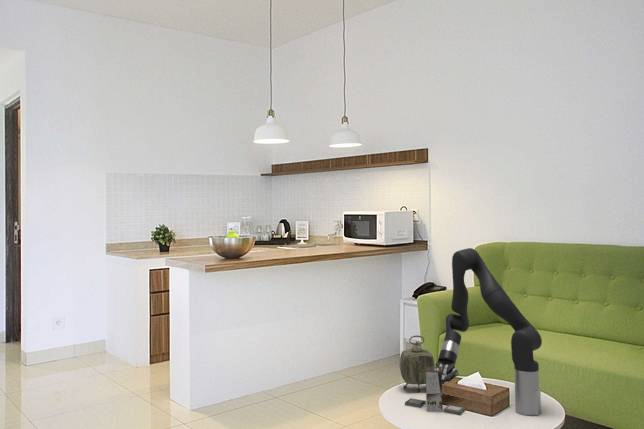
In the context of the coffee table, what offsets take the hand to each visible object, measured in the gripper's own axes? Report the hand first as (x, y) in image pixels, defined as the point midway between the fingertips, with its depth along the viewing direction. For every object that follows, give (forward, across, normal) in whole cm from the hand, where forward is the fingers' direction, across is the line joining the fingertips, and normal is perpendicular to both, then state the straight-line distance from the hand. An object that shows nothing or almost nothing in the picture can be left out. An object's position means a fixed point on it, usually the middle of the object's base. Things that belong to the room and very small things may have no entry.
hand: (439, 388), depth 235 cm
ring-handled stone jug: (-4, -15, +13) cm, 20 cm away
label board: (+9, 0, 0) cm, 9 cm away
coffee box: (+9, 0, 0) cm, 9 cm away
